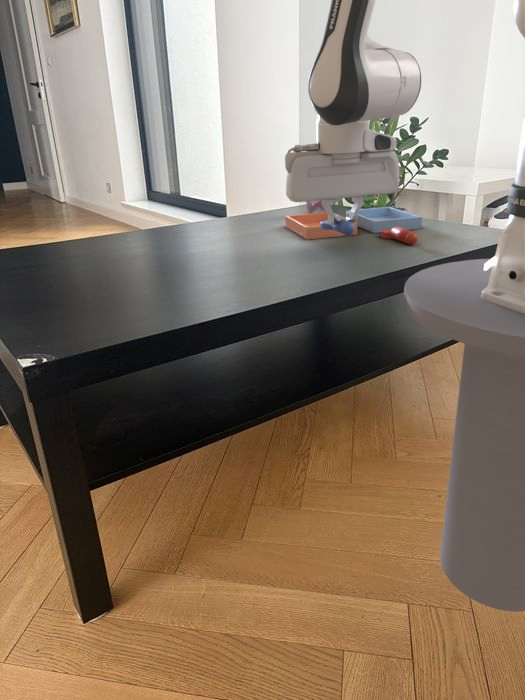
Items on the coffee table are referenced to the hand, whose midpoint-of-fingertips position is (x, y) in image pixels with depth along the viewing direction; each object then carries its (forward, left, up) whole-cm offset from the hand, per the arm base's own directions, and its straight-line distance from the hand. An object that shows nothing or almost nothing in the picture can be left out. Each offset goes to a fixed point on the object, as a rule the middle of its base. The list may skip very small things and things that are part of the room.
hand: (342, 223), depth 99 cm
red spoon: (+5, -14, -6) cm, 16 cm away
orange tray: (+21, -3, -6) cm, 22 cm away
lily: (+37, -8, -6) cm, 39 cm away
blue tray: (+21, -18, -6) cm, 29 cm away
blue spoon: (+2, 0, -2) cm, 3 cm away
